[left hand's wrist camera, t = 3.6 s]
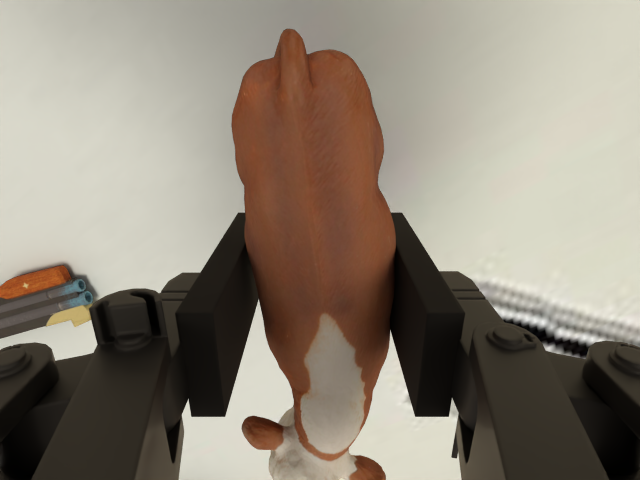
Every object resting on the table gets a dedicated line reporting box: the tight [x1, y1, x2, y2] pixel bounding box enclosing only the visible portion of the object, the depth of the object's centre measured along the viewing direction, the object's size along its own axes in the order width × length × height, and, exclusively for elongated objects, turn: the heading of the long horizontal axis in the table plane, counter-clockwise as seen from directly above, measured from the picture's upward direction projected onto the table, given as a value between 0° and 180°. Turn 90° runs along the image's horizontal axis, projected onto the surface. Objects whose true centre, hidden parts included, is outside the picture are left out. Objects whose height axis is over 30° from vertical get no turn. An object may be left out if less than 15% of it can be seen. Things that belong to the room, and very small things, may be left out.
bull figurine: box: [232, 29, 396, 480], centre depth 13 cm, size 4×13×8 cm, turn 0°
